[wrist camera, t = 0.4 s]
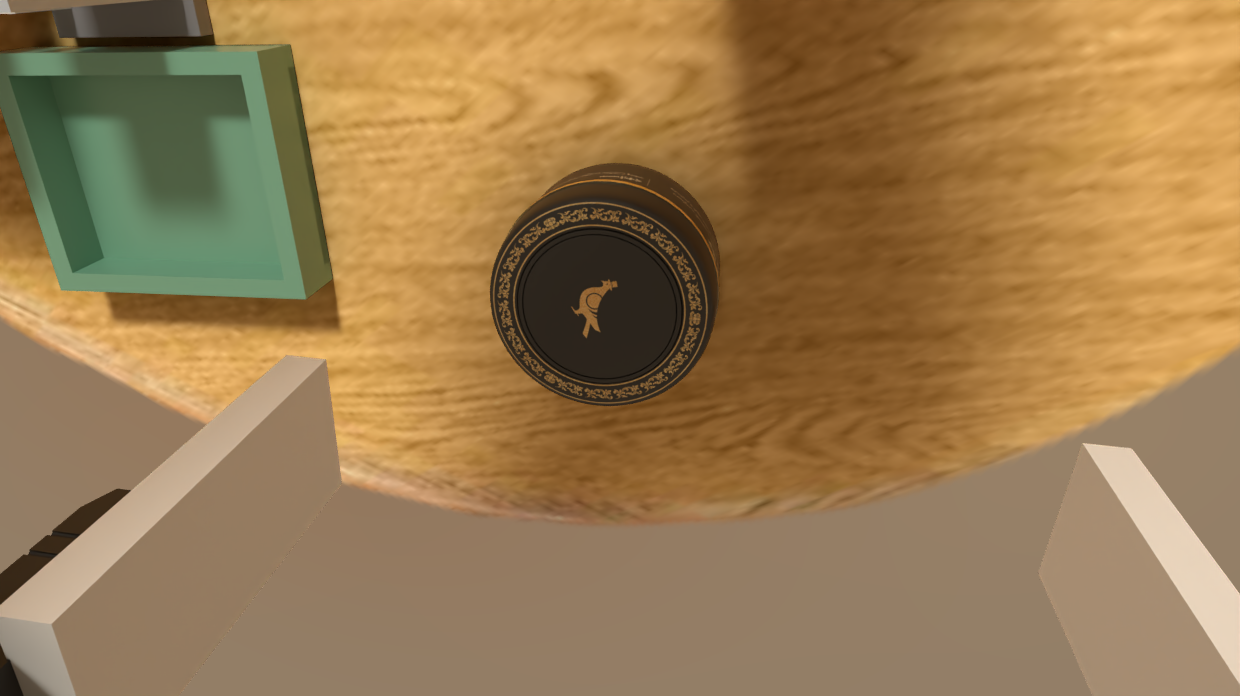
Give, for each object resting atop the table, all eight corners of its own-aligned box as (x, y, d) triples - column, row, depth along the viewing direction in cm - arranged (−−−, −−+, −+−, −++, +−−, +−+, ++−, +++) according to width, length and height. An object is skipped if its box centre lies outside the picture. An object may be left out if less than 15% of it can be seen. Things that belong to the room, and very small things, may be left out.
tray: (31, 46, 42) (-18, 53, 39) (290, 44, 40) (256, 51, 37) (100, 270, 47) (61, 290, 45) (332, 278, 45) (306, 299, 43)
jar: (534, 336, 45) (494, 405, 38) (521, 150, 41) (473, 191, 34) (720, 344, 44) (713, 418, 37) (726, 153, 39) (720, 196, 32)
